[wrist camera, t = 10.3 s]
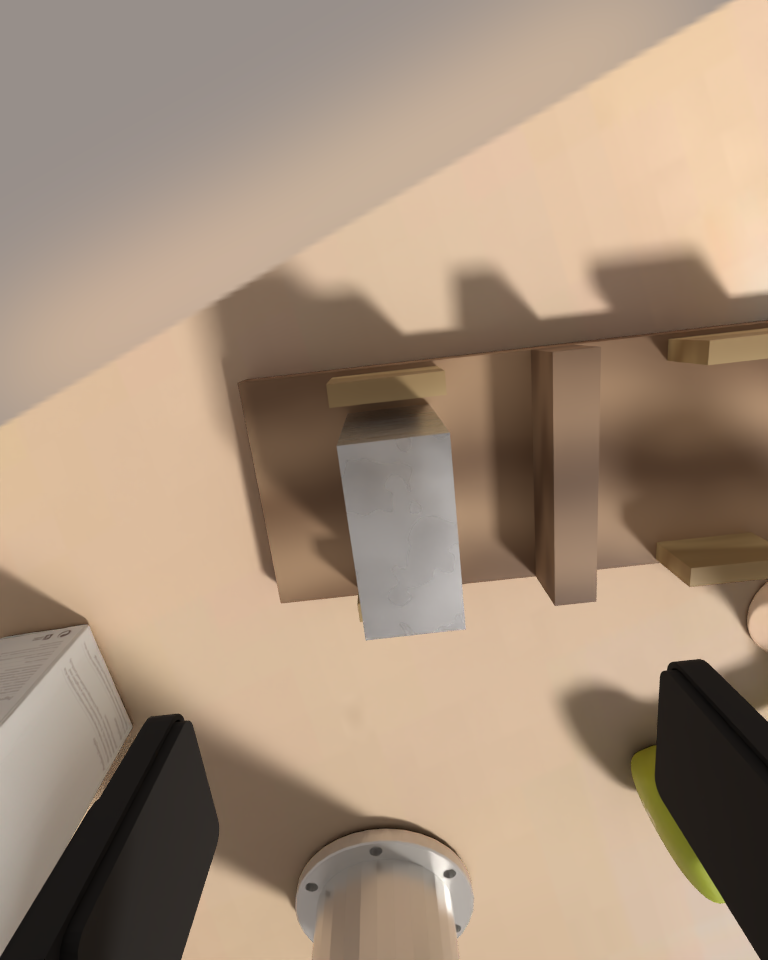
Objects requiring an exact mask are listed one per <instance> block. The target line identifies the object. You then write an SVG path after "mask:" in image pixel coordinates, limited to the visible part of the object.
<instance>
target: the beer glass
mask: <svg viewBox="0 0 768 960" xmlns="http://www.w3.org/2000/svg"><path fill="white" fill-rule="evenodd" d="M747 628H748V631H749V634H750V636H751V638H752V639H753V640H754V642H755V643H756V644H757V645H758V646H759V647H760V648H762V649H763V650H764V651H766V652H767V653H768V582H766V583H765V584H764V585H763V586H762V587H761V588H760V590H759V591H758V592H757V593H756V595H755V596H754V598H753V600H752V602H751V604H750V606H749V610H748V614H747Z"/></svg>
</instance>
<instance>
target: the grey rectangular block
mask: <svg viewBox="0 0 768 960" xmlns="http://www.w3.org/2000/svg"><path fill="white" fill-rule="evenodd" d="M337 452H338V459H339V466H340V472H341V479H342V486H343V492H344V499H345V506H346V512H347V519H348V525H349V532H350V539H351V545H352V552H353V559H354V565H355V572H356V579H357V585H358V592H359V599H360V605H361V612H362V618H363V625H364V632H365V638H366V640H374V639H382V638H391V637H400V636H409V635H418V634H427V633H436V632H445V631H454V630H463V629H466V628H465V615H464V603H463V590H462V578H461V565H460V553H459V540H458V528H457V516H456V503H455V491H454V478H453V466H452V453H451V441H450V432H449V431H448V429H447V428H446V427H445V425H444V424H443V422H442V421H441V420H440V418H439V417H438V415H437V414H436V413H435V411H434V410H433V409H432V407H431V406H430V404H422V405H414V406H405V407H397V408H389V409H381V410H372V411H364V412H356V413H348V414H347V416H346V419H345V422H344V425H343V428H342V431H341V434H340V437H339V440H338V443H337Z"/></svg>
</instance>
